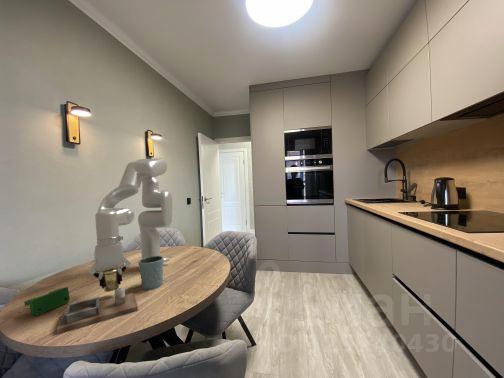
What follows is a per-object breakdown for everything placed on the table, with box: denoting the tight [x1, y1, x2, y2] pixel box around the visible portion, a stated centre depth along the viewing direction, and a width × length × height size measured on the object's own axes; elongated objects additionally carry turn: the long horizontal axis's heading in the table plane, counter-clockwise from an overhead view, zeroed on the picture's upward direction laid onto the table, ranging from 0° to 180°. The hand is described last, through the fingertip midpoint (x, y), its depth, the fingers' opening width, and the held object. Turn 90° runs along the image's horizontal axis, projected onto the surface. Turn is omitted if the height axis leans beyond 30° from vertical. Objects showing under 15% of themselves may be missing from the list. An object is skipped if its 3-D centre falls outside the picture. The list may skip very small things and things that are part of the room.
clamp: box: [23, 286, 71, 316], centre depth 84 cm, size 12×6×9 cm, turn 154°
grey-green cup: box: [138, 255, 164, 291], centre depth 101 cm, size 10×10×12 cm
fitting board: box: [56, 287, 139, 335], centre depth 80 cm, size 22×13×6 cm, turn 123°
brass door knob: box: [103, 269, 120, 292], centre depth 92 cm, size 6×6×8 cm
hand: (111, 284), depth 92 cm, fingers closed on brass door knob, 5 cm apart
